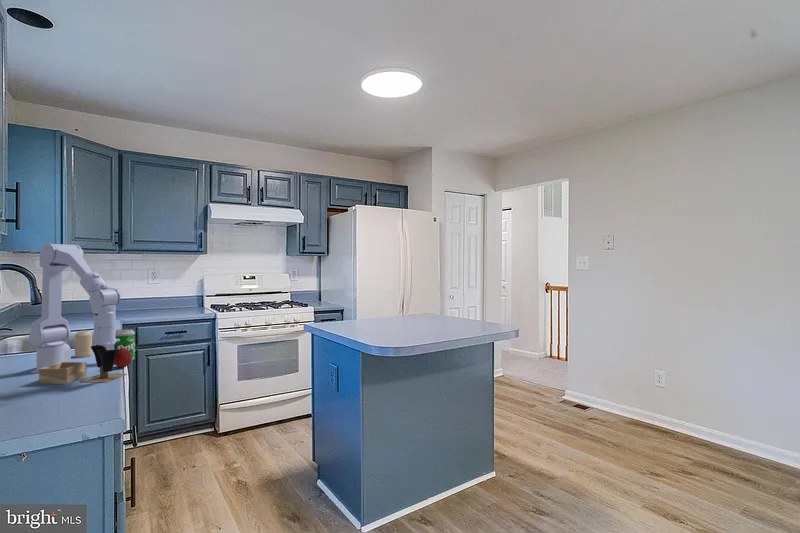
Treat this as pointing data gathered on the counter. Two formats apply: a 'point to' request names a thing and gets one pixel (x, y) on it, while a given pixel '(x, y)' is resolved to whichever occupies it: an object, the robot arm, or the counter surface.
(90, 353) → the candle
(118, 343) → the soda can
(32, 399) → the counter surface
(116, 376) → the lid
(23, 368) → the counter surface
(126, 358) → the onion
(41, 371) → the box
